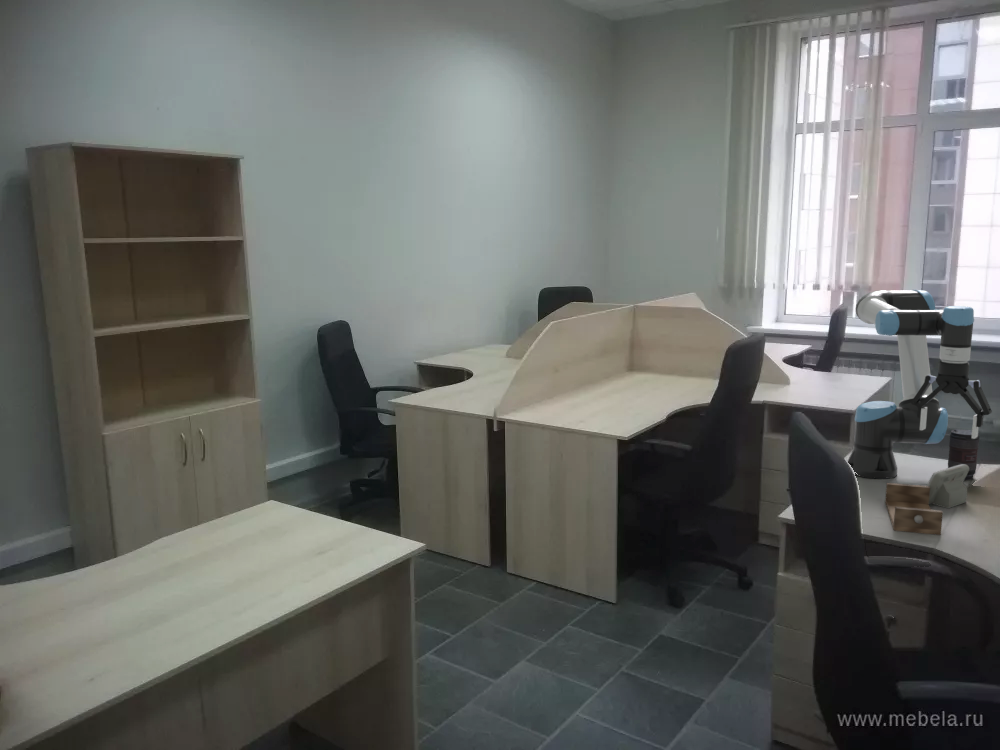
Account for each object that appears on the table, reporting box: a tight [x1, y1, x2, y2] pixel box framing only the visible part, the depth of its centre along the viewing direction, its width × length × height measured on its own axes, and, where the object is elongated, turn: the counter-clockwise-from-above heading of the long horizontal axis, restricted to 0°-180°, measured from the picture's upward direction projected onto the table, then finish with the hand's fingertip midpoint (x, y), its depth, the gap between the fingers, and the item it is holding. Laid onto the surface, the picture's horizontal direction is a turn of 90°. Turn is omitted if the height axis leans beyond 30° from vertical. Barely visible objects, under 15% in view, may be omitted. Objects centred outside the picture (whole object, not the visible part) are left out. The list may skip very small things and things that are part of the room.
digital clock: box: [926, 464, 969, 509], centre depth 224 cm, size 16×9×11 cm, turn 108°
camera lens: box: [947, 428, 980, 481], centre depth 245 cm, size 8×8×15 cm
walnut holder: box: [884, 482, 944, 536], centre depth 212 cm, size 11×24×6 cm, turn 159°
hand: (948, 433), depth 221 cm, fingers open, 13 cm apart
